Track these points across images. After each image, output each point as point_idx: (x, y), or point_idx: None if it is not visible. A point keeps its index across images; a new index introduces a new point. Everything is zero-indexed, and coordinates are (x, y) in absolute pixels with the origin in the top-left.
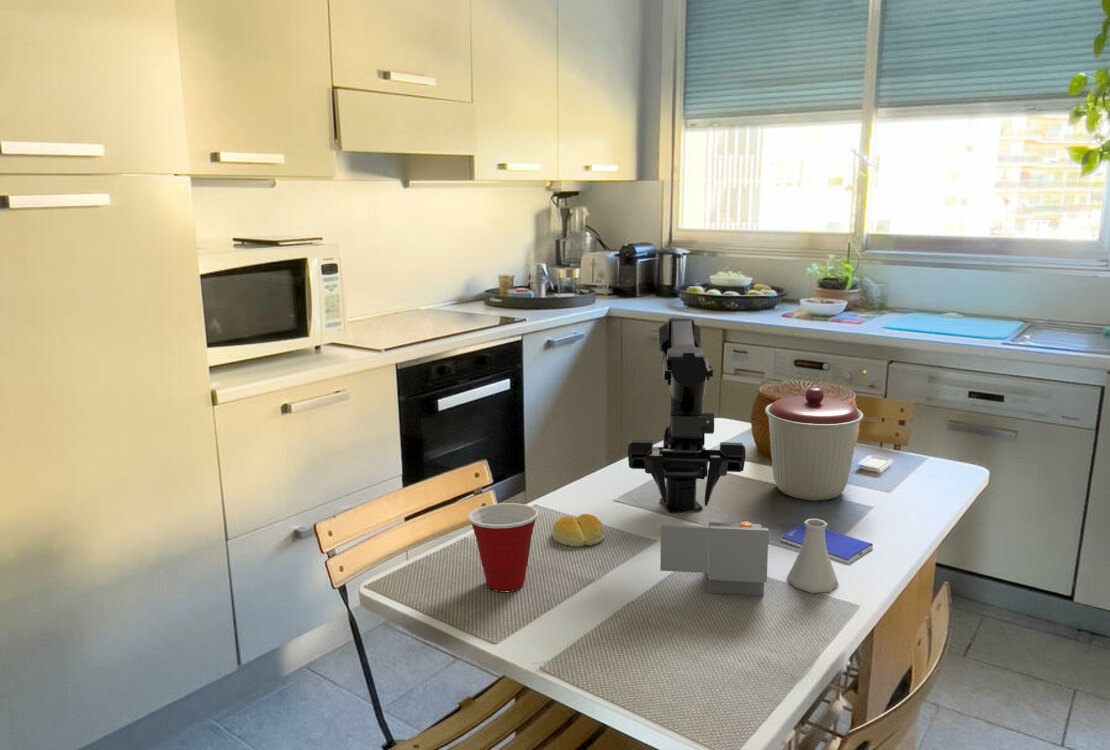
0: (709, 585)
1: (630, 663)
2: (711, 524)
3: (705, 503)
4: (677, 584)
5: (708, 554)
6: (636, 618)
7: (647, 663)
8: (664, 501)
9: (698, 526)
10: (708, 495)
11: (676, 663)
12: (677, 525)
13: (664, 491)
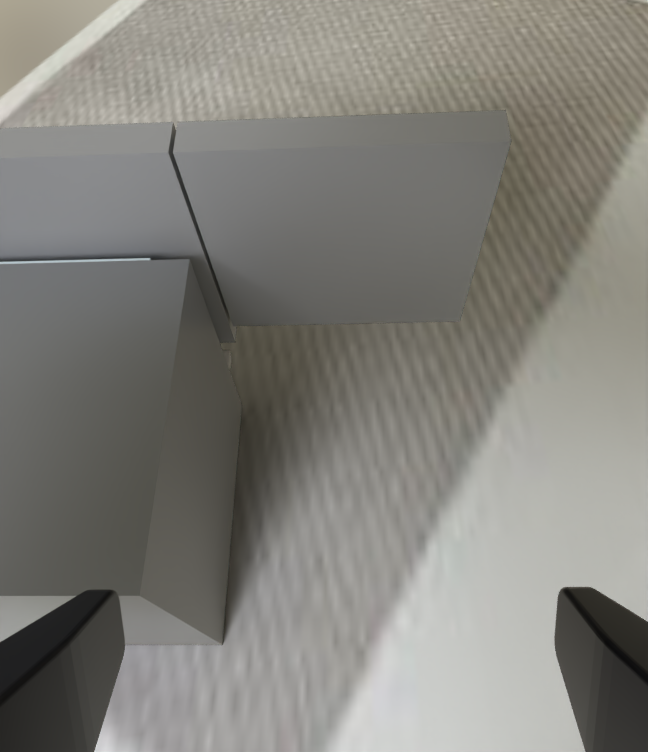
0: (235, 388)
1: (474, 53)
2: (127, 545)
3: (111, 592)
4: (375, 461)
5: (204, 560)
6: (501, 218)
7: (432, 58)
8: (582, 589)
9: (246, 136)
10: (30, 632)
11: (361, 66)
12: (391, 133)
13: (642, 647)
